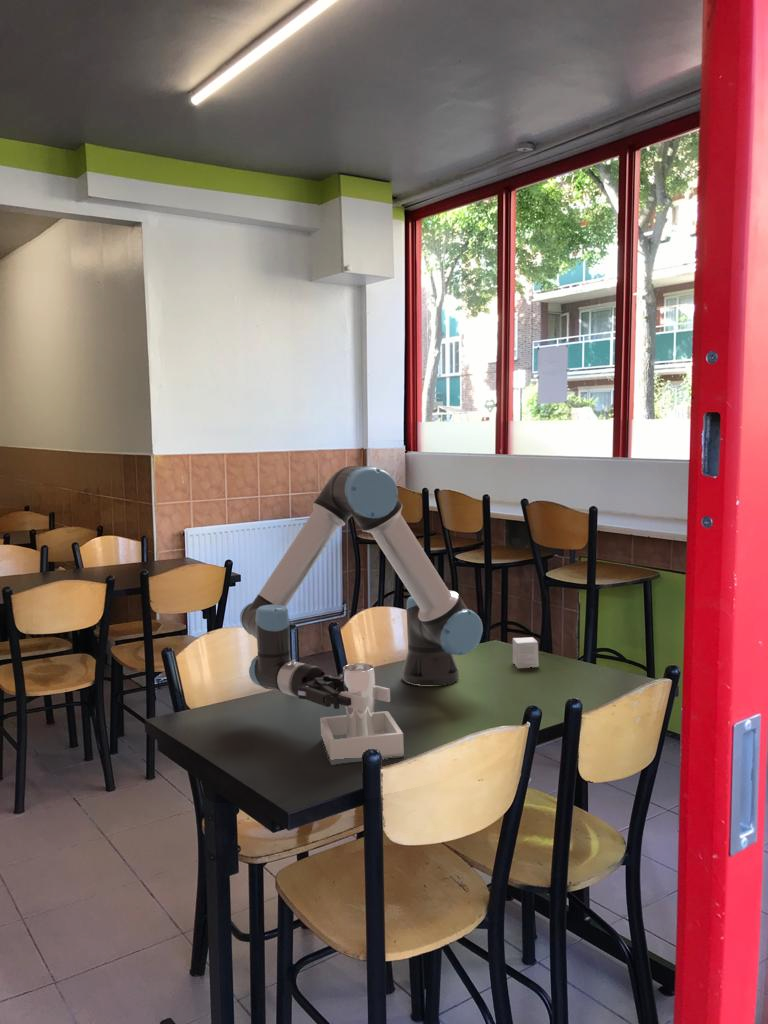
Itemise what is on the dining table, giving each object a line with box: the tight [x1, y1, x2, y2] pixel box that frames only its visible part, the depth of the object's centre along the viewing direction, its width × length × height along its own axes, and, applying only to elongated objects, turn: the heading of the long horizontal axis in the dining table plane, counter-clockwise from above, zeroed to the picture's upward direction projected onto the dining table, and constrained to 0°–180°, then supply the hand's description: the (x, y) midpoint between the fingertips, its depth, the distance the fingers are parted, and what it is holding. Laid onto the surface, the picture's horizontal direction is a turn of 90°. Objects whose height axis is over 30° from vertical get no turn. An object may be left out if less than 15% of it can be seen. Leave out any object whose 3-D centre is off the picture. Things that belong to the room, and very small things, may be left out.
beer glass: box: [342, 662, 377, 738], centre depth 178 cm, size 7×7×15 cm
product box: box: [512, 636, 540, 669], centre depth 238 cm, size 6×6×7 cm
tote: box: [319, 710, 405, 761], centre depth 178 cm, size 15×15×5 cm
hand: (376, 699), depth 174 cm, fingers closed on beer glass, 7 cm apart
